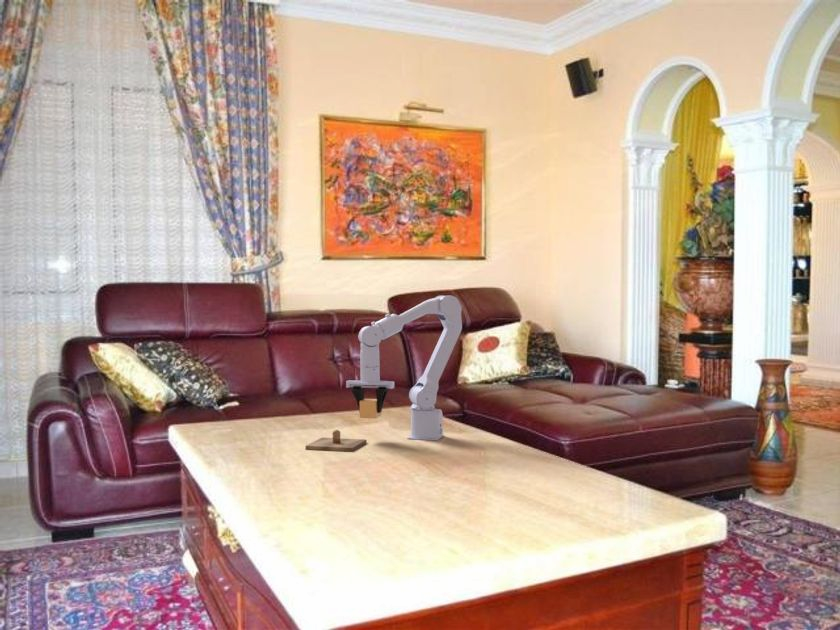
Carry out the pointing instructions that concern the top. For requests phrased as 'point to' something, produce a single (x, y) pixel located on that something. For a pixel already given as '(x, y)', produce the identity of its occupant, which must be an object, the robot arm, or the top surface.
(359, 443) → the brown rectangular slab
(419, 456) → the top surface
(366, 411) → the orange cube
